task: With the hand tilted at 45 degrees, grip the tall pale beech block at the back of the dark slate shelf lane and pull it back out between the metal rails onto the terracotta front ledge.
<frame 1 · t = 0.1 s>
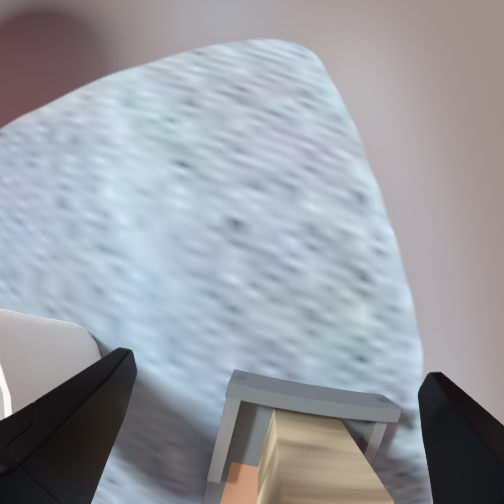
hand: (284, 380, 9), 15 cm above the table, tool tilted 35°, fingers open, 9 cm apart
beech block: (298, 441, 21), point 1 cm above the table, touching shelf lane
shelf lane: (285, 470, 21), on the table
foam cup: (73, 357, 24), on the table
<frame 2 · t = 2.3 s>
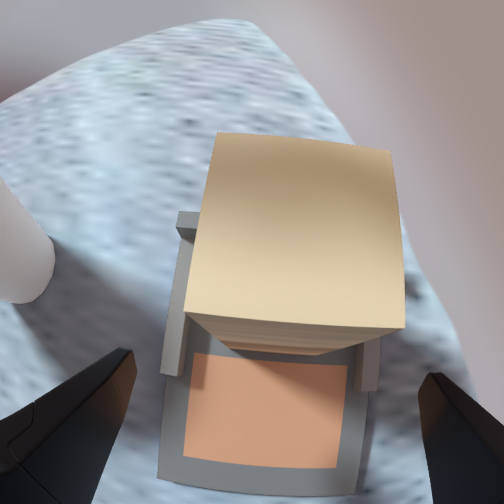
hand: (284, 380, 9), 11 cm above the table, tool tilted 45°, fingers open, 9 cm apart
beech block: (276, 311, 19), point 1 cm above the table, touching shelf lane
shelf lane: (270, 369, 18), on the table
foam cup: (27, 266, 21), on the table
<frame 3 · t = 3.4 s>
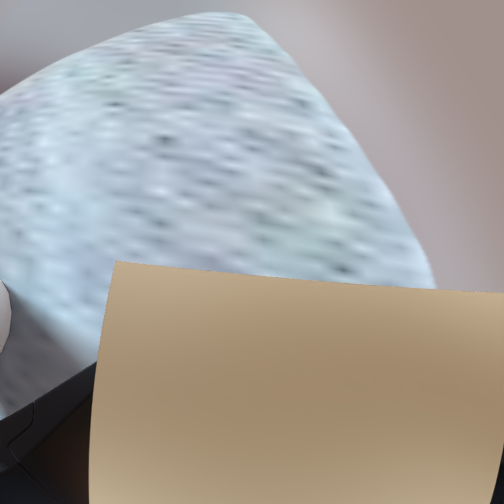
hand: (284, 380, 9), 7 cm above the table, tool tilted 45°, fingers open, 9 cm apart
beech block: (270, 402, 14), point 1 cm above the table, touching shelf lane
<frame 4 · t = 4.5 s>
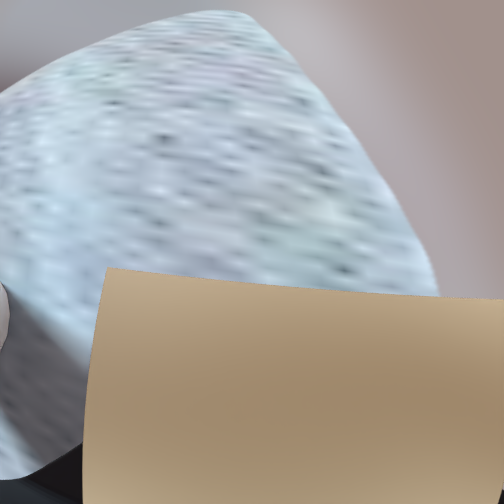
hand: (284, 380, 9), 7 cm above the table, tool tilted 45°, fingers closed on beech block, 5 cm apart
beech block: (270, 405, 13), point 1 cm above the table, touching gripper, shelf lane
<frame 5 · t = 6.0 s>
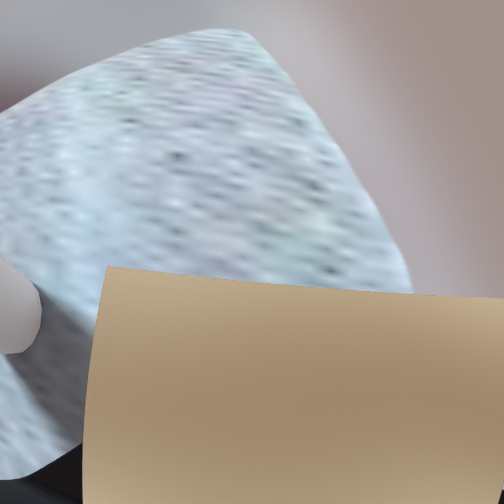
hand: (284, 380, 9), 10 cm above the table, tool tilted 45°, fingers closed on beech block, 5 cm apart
beech block: (270, 404, 13), point 5 cm above the table, touching gripper
foam cup: (15, 314, 20), on the table
when the fingers open (8 cm above the table, at t = 7.8 s): beech block drops 1 cm, resting on shelf lane.
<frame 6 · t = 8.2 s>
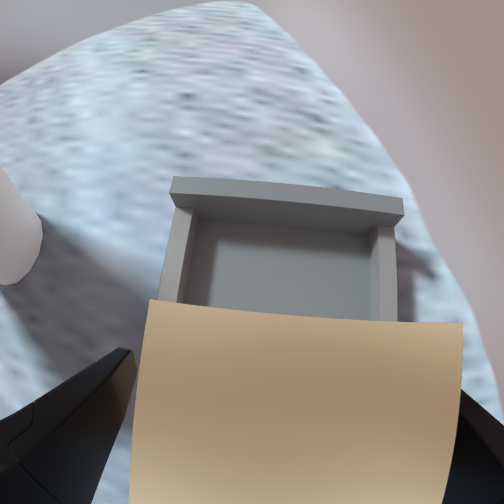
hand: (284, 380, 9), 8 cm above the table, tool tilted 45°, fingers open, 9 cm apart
beech block: (269, 402, 15), point 1 cm above the table, touching shelf lane
shelf lane: (273, 354, 17), on the table
foam cup: (14, 246, 19), on the table
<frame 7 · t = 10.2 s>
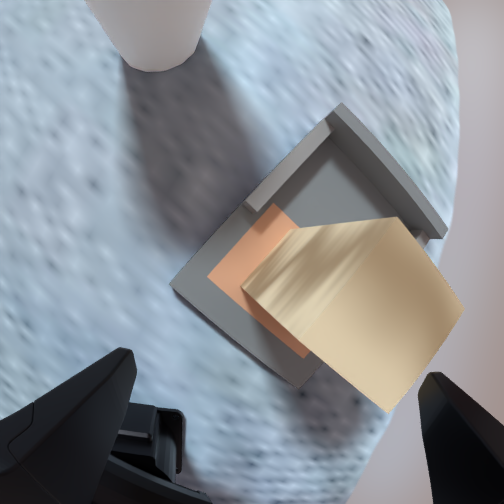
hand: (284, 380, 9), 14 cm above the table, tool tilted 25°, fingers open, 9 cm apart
beech block: (292, 282, 22), point 1 cm above the table, touching shelf lane
shelf lane: (310, 253, 23), on the table
foam cup: (159, 42, 20), on the table
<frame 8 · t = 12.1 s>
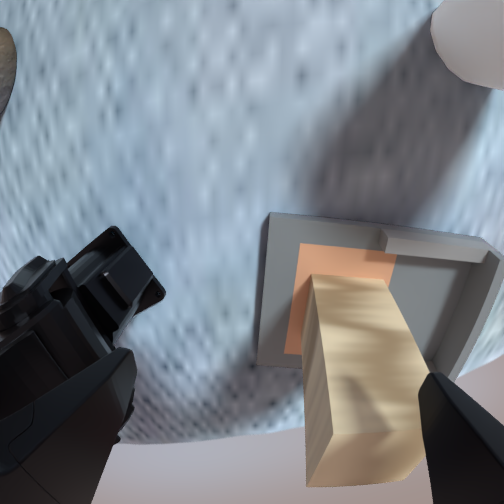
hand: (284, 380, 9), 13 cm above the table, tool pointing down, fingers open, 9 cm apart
beech block: (341, 308, 21), point 1 cm above the table, touching shelf lane
shelf lane: (371, 302, 22), on the table
foam cup: (467, 42, 14), on the table
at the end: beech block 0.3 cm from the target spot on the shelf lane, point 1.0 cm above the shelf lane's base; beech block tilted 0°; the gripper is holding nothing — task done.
